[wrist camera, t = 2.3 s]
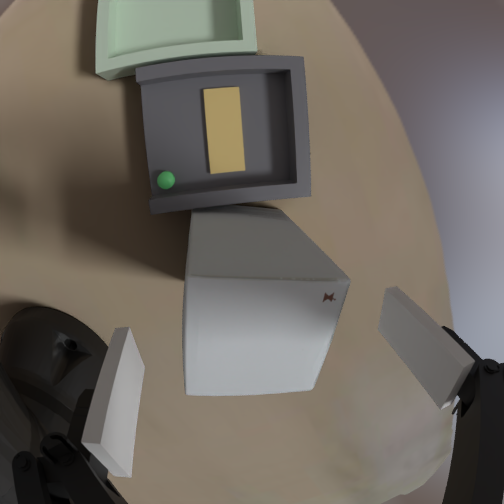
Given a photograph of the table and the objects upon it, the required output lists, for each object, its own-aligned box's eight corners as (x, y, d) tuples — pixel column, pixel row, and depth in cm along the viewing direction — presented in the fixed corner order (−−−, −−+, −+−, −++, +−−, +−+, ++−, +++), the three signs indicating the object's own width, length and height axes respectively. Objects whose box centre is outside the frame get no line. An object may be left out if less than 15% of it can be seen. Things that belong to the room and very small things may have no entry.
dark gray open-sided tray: (158, 203, 22) (150, 214, 19) (145, 78, 18) (135, 68, 15) (295, 187, 23) (311, 196, 20) (288, 67, 19) (303, 56, 16)
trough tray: (108, 80, 17) (95, 73, 15) (112, -25, 13) (103, -40, 10) (249, 61, 19) (257, 51, 16) (241, -41, 14) (246, -58, 12)
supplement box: (191, 199, 22) (183, 269, 11) (283, 208, 24) (358, 278, 12) (185, 283, 25) (181, 398, 13) (268, 288, 26) (315, 393, 15)
